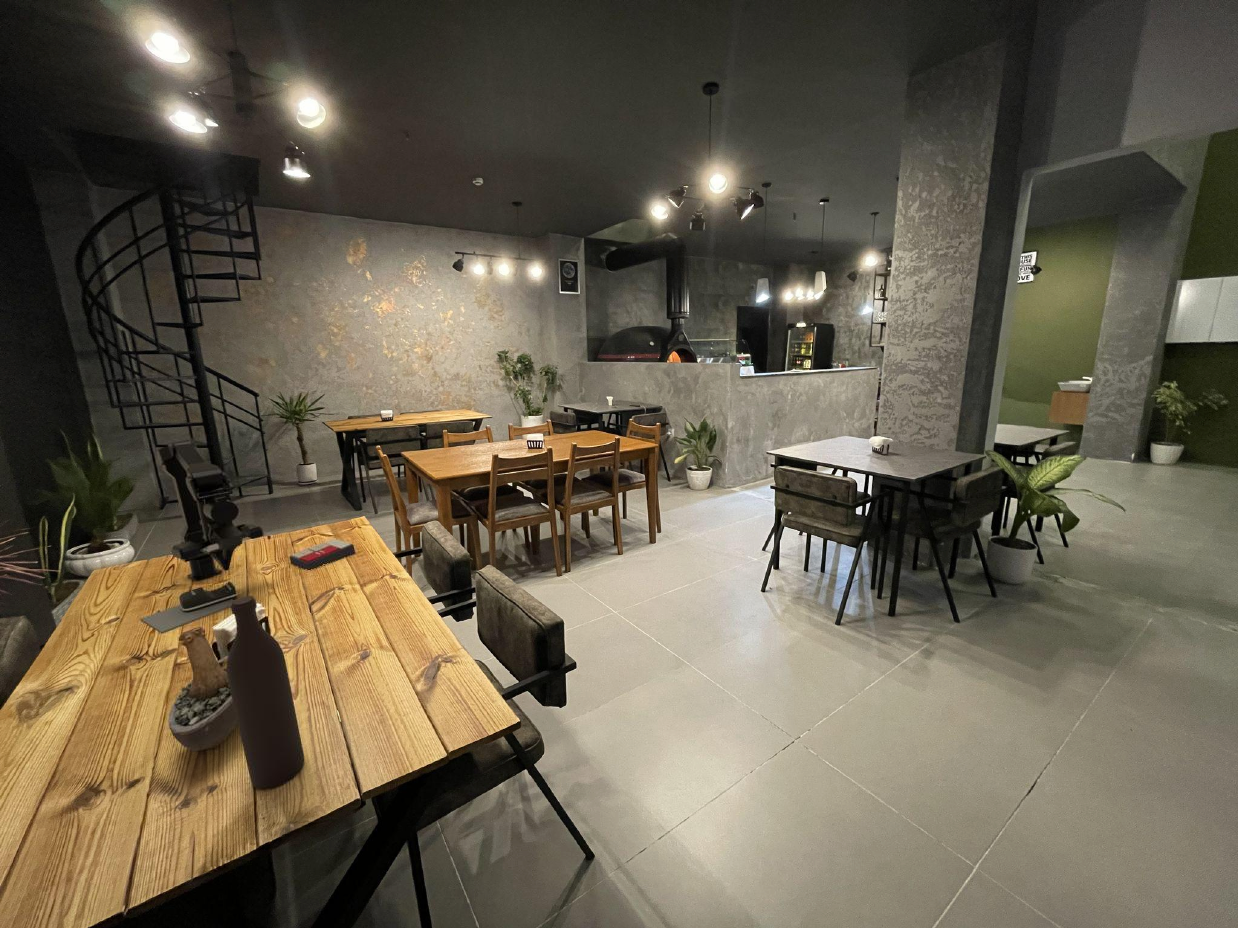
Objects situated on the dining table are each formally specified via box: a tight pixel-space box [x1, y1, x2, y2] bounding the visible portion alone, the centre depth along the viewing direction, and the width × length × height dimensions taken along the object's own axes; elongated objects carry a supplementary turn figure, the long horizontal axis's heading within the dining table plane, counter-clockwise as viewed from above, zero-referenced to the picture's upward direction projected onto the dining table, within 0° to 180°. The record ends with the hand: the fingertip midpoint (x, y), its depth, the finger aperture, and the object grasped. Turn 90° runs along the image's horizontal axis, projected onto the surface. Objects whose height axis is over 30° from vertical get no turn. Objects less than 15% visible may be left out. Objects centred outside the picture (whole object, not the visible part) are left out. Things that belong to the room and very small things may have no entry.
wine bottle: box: [226, 595, 305, 791], centre depth 74 cm, size 7×7×30 cm
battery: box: [178, 581, 238, 612], centre depth 132 cm, size 7×4×11 cm
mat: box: [140, 599, 235, 634], centre depth 128 cm, size 13×16×1 cm
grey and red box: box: [289, 538, 356, 571], centre depth 159 cm, size 11×4×15 cm
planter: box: [168, 626, 238, 751], centre depth 85 cm, size 15×17×20 cm
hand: (226, 570), depth 134 cm, fingers closed
